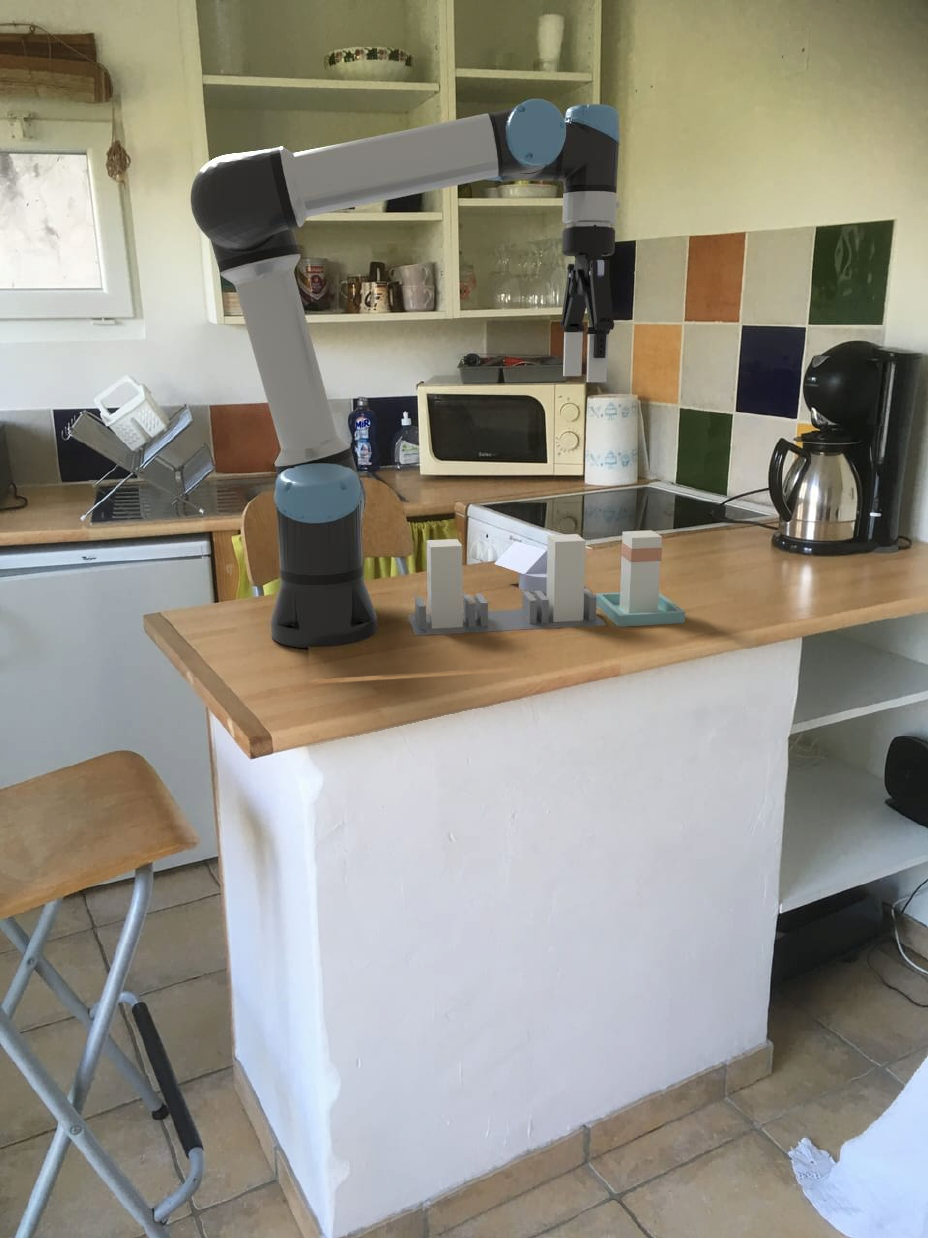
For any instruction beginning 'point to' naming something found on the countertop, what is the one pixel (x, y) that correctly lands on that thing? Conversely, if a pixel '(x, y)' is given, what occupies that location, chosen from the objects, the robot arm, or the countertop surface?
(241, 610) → the countertop surface
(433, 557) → the block
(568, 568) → the block
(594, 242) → the robot arm
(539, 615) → the holder
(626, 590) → the block
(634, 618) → the tray
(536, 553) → the wedge on round base
